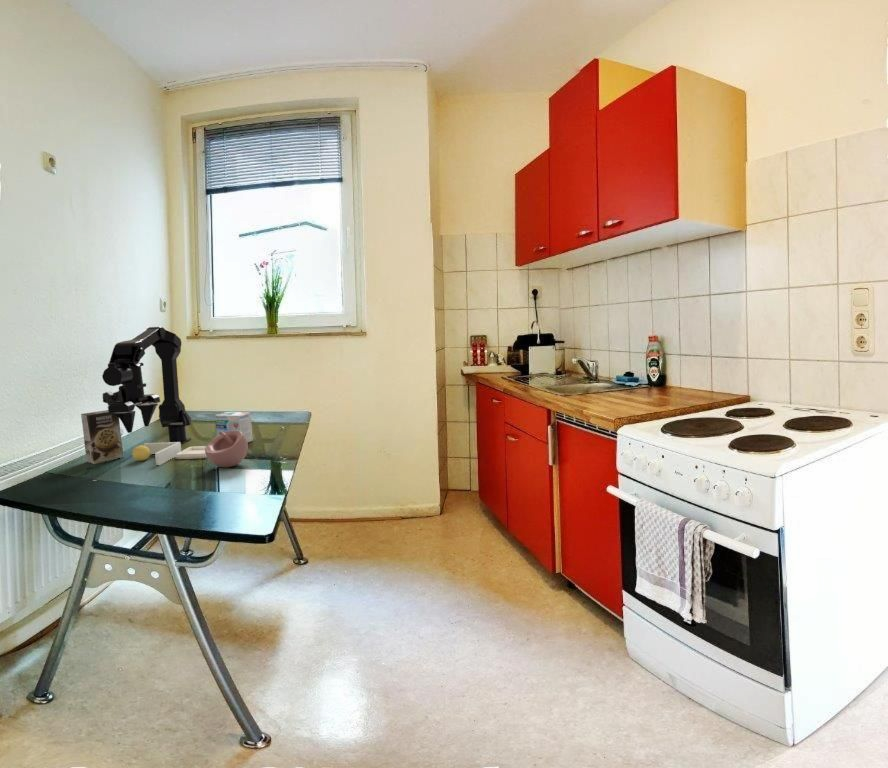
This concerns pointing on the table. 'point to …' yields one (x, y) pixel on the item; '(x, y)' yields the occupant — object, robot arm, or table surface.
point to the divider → (164, 450)
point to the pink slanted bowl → (227, 449)
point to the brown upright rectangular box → (101, 436)
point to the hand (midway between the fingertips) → (138, 429)
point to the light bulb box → (235, 423)
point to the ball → (141, 453)
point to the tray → (192, 453)
